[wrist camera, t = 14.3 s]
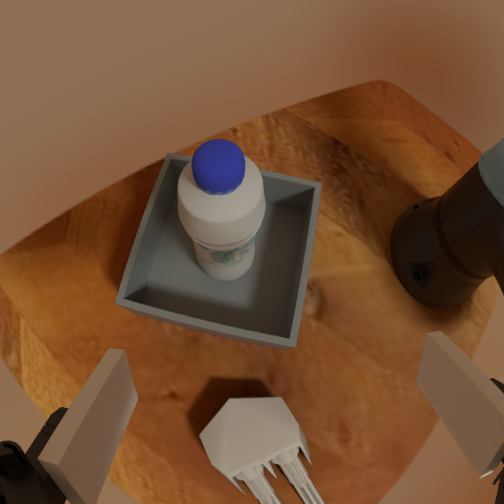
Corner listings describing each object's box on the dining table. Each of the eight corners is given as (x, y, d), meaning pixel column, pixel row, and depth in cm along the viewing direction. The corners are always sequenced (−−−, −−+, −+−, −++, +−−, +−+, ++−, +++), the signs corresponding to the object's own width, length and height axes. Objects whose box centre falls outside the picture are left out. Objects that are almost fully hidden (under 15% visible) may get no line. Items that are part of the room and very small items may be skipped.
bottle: (189, 241, 38) (152, 130, 19) (243, 224, 39) (251, 104, 20) (207, 294, 36) (177, 220, 17) (263, 275, 37) (292, 184, 18)
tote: (308, 210, 41) (321, 183, 34) (284, 349, 35) (295, 347, 29) (176, 183, 41) (167, 152, 35) (135, 314, 36) (114, 303, 29)
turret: (265, 525, 30) (271, 546, 25) (187, 410, 32) (184, 423, 27) (334, 492, 31) (347, 509, 27) (268, 372, 34) (277, 381, 29)
